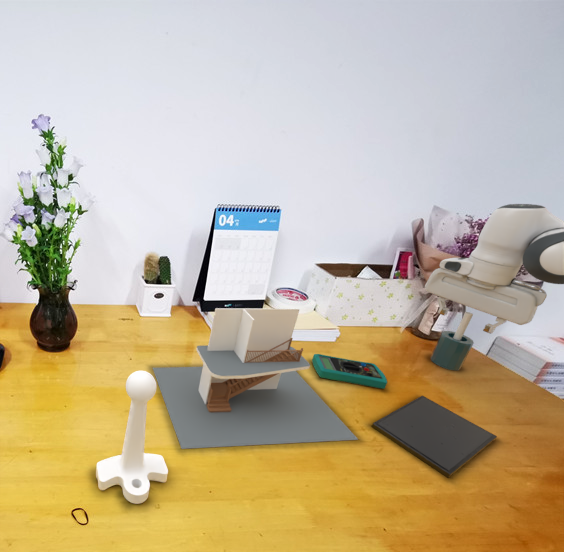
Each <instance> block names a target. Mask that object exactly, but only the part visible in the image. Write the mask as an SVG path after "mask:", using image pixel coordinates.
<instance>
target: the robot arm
mask: <svg viewBox="0 0 564 552" xmlns="http://www.w3.org/2000/svg"><path fill="white" fill-rule="evenodd" d="M522 266H523V267H524V270H525V271H526V272H527V273H528V274H529V275H530V276H532V277H533V278H535V280H539V281H541V282H544V283H548V284H553V285H564V220H563V219H560V218H559V217H558V216H556V215H555V214H553V213H552V212H551V211H549V210H548V208H546V206H543V205H539V204H532V203H531V204H530V203H509V204H504V205H502V206H500V207H497V208H496V209H494V210H493V211H492V212H491V214H490V215H489V217H488V219H487V220H486V221H485V223H484V226H483V227H482V229H481V232H480V234H479V236H478V240H477V245H476V247H475V248H474V250H472V251H471V253H470V255H469V256H468V257H450V258H445V259H442V260H441V261H440V262H439V268H435V269H434V270H433V271H432V273H430V276H429V277H428V279H427V281H426V283H425V285H424V289H425V291H426V292H427V293H428V294H432V295H435V296H437V304H438V310H437V314H439V315H442V316H444V317H445V316H447V315H448V313H449V311H450V308H449V307H447V305H446V302H447V301H451V302H454V303H457V304H460V305H462V306H465V307H468V308H470V309H474V310H477V311H479V312H482V313H485V314H487V315H490V316H493V317H496V318H495V322H496V323H494V324H491V323H487V324H485V326H484V328H483V329H482V331H483V332H485V333H487V334H489V335H490V334H493V333H494V332H495V330H496V328H497V327H500V326H501V325H503V324H505V323H507V322H511V323H512V324H516V325H518V326H523V325H527V324H530V323H531V322H532V321H533V319H534V317H535V315H536V313H537V310H538V307H539V306H541V305H543V304H544V302H545V301H546V298H547V292H546V291H545V290H544V289H543V288H542V287H541V286H540V285H537V284H534V283H533V284H532V283H529V282H526V281H523V280H520V279H518V278H517V279H516V277H517V275H518V273H519V271H520V270H521V267H522Z"/></svg>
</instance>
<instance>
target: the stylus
mask: <svg viewBox="0 0 564 552" xmlns="http://www.w3.org/2000/svg"><path fill="white" fill-rule="evenodd" d="M473 316H474V313H472V312H470V311H465V312H464V314H463V316H462V318H461V320H460V322H459V325H458V326H457V328H456V331H455V332H456V333H455V335H454V337H453V339H456V340H459V341H460V340H461V338H462V336H463V335H464V334H465V332H466V330H467V328H468V326H469V324H470V322H471V320H472V318H473Z"/></svg>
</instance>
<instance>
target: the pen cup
mask: <svg viewBox="0 0 564 552" xmlns="http://www.w3.org/2000/svg"><path fill="white" fill-rule="evenodd" d="M455 333H456V331H451V330H443V331H441V334H440V335H439V337H438V340H437V341H436V344H435V346H434V348H433V351H432V352H431V355H430V358H429V359H430V362H432V363H433V364H435V365H436V366H438V367H440V368H443V369H445V370H449V371H455V372H456V371H460V370H461V369H462V367H463V365H464V363H465V361H466V359H467V357H468V355H469V354H470V352H471V349H472V347H473V346H474V344H475V343H474V340H473V339H472V338H470V337H468V336H466V335H464V334H463V336H462V338H461V340H460V341H459V340H456V339H453V337H454V335H455Z"/></svg>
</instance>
